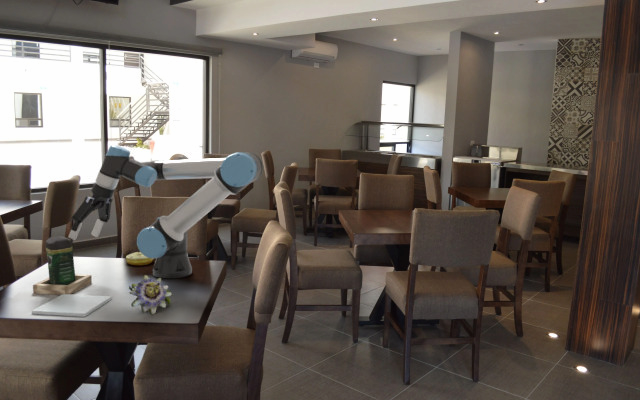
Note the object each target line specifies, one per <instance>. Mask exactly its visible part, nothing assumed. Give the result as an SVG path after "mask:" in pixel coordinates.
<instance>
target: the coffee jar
mask: <svg viewBox="0 0 640 400" xmlns="http://www.w3.org/2000/svg"><path fill="white" fill-rule="evenodd" d="M73 250H74V249H73V241H72V239H71V238H69V237H65V236H62V235H56V236H50V237H48V239H46V240H45V251H46V257H47V266H48V267H47V269H48V278H49V281H50V284H51V285H69V284H71V283H73V282H75V281H76V278H75V274H76V269H75V263H74V262H75V261H74V251H73Z"/></svg>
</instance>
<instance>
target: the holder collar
mask: <svg viewBox="0 0 640 400" xmlns="http://www.w3.org/2000/svg"><path fill="white" fill-rule="evenodd" d="M75 278H76V281H75V282H73V283H71V284H69V285H51V284H50V281H49V277H47V278H46V279H45V278H44V279H43V280H41V281H39V282H37V283H34V284H33V285H32V292H33V294H36V295H37V294H39V295H40V294H41V295H44V294H45V295H57V296H58V295H59V296H60V295H62V294H72V295H73V294H74V293H77V292H78V291H79V290H81V289H83V288H85V287H87V286H89V285H90V284H92V274H79V273H78V274H76V273H75Z"/></svg>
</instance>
